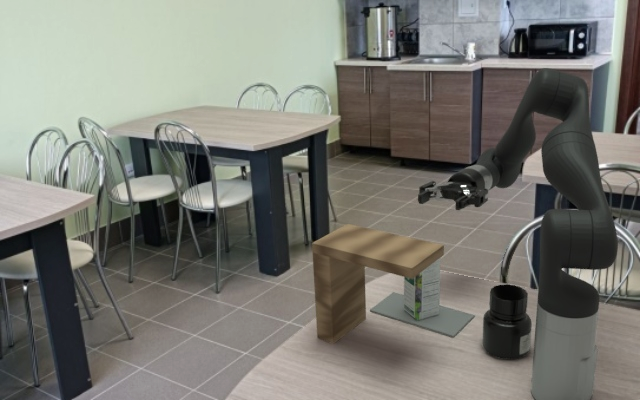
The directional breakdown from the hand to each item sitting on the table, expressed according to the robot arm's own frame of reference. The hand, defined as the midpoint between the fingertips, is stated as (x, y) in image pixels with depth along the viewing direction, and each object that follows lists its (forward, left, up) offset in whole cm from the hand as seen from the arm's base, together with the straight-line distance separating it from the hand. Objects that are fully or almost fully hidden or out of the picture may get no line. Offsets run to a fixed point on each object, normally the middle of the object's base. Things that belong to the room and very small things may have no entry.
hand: (438, 202), depth 131 cm
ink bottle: (-19, +9, -24) cm, 32 cm away
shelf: (+3, +20, -24) cm, 31 cm away
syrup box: (+1, +6, -24) cm, 24 cm away
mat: (+1, +6, -24) cm, 25 cm away
